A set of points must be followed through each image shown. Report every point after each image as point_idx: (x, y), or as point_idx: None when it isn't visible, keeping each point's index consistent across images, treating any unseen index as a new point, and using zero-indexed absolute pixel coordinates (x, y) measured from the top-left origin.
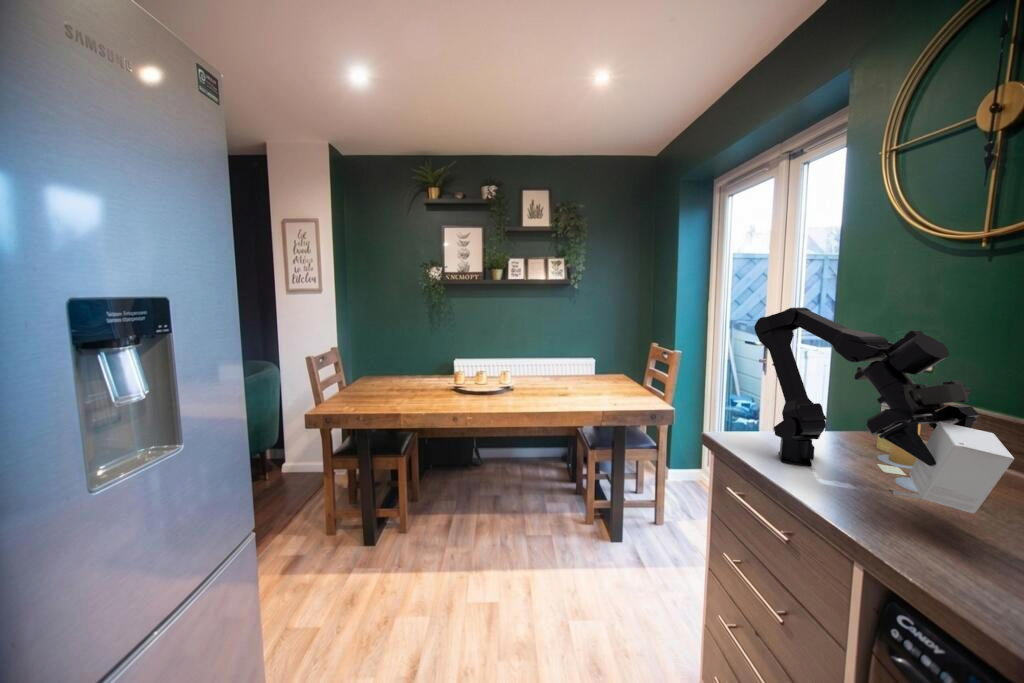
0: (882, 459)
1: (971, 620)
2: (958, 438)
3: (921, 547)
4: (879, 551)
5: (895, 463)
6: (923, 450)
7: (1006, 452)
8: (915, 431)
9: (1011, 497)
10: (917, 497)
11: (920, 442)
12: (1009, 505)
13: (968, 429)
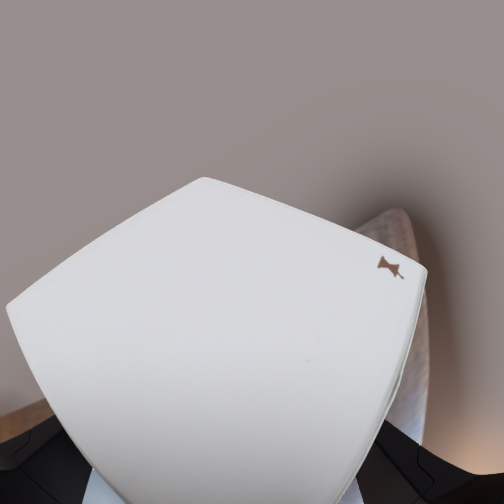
0: None
1: (411, 228)
2: (364, 313)
3: None
4: (419, 353)
5: None
6: (401, 432)
7: (186, 193)
8: (455, 496)
9: (2, 420)
10: None
11: (420, 456)
12: (24, 414)
13: (91, 400)
